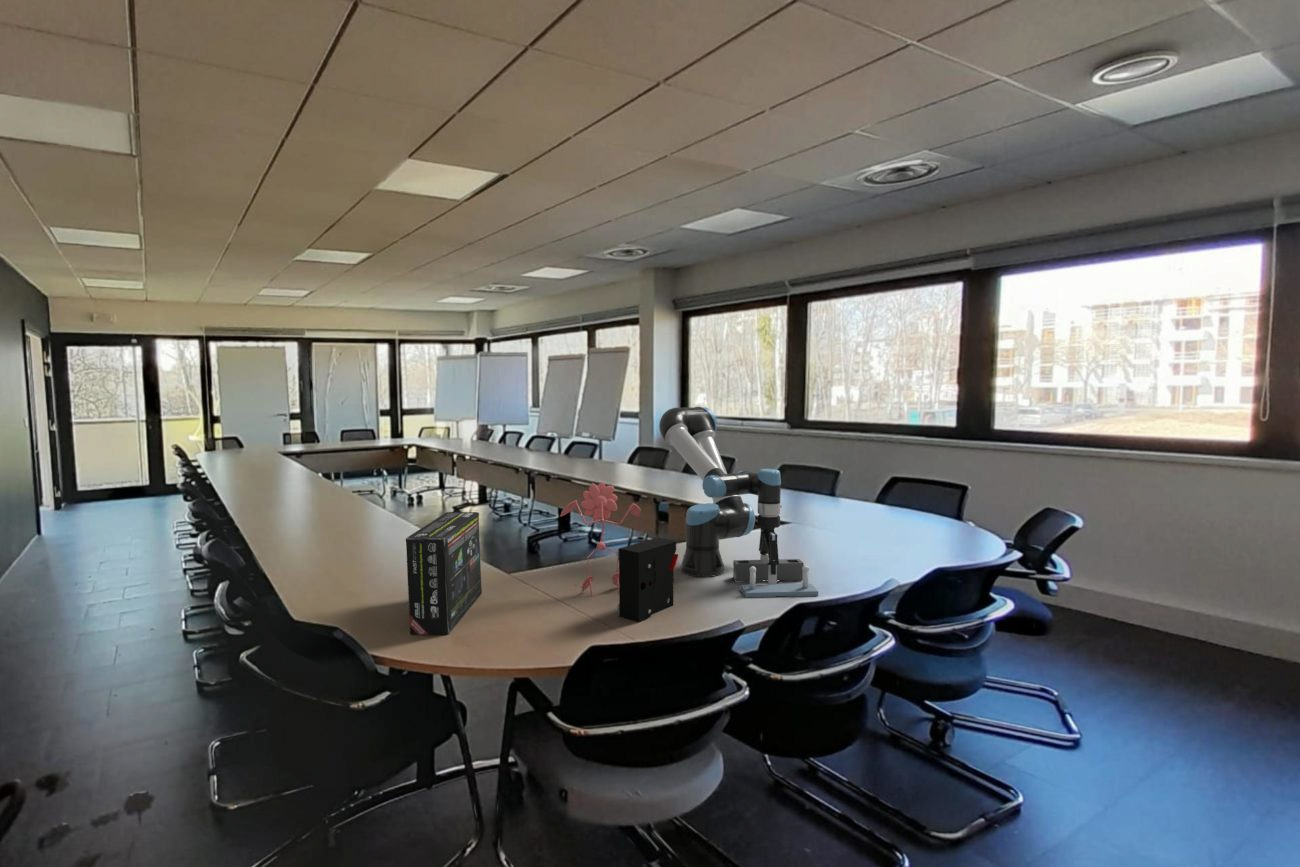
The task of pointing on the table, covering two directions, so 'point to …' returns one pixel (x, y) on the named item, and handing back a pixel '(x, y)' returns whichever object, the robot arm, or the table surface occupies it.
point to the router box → (443, 572)
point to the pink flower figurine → (599, 507)
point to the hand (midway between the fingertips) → (768, 578)
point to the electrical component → (646, 578)
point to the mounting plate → (779, 587)
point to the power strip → (785, 569)
